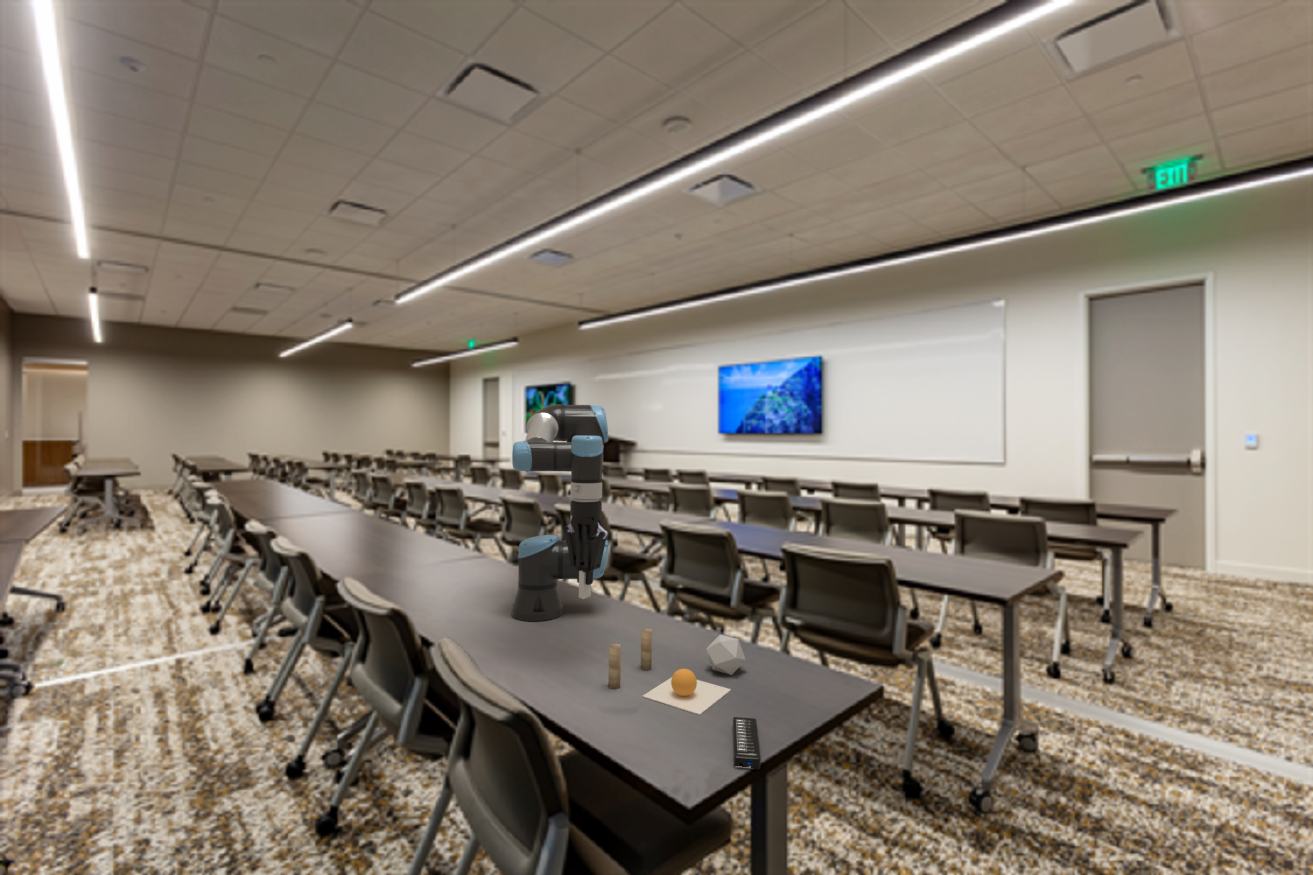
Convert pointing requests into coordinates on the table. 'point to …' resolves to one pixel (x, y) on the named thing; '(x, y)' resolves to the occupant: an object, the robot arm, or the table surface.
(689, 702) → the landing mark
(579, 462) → the robot arm
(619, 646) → the left post
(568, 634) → the table surface
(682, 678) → the ball
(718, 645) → the die
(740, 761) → the multiport hub
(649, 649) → the right post
